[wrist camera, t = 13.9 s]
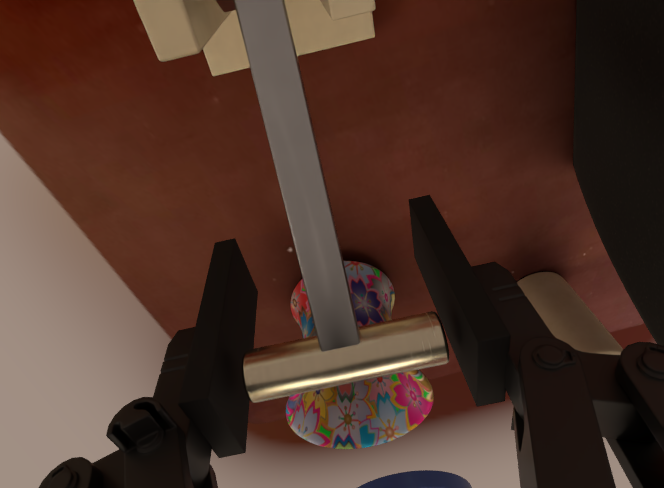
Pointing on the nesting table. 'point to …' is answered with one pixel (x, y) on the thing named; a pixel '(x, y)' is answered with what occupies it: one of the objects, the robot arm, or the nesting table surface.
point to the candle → (567, 314)
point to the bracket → (225, 34)
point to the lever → (316, 240)
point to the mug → (364, 396)
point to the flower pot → (624, 141)
